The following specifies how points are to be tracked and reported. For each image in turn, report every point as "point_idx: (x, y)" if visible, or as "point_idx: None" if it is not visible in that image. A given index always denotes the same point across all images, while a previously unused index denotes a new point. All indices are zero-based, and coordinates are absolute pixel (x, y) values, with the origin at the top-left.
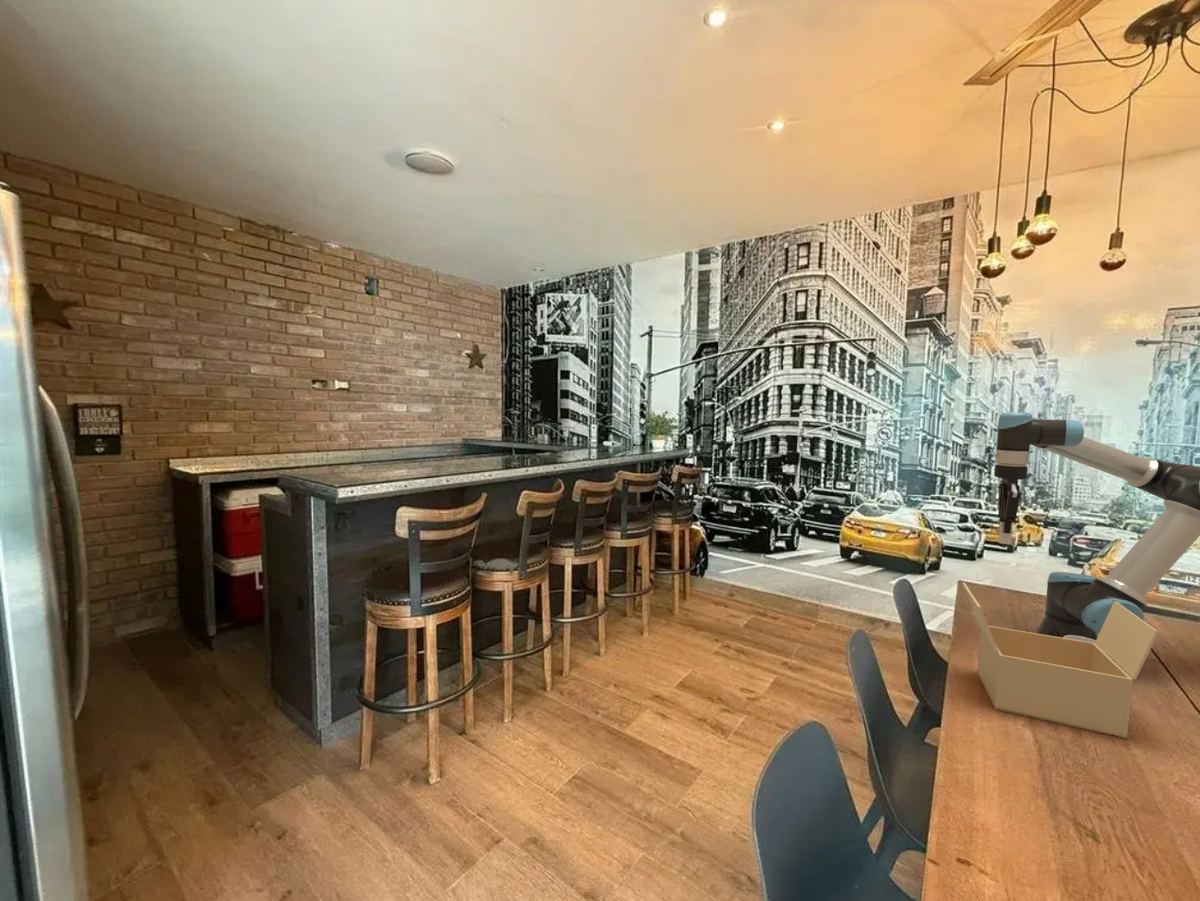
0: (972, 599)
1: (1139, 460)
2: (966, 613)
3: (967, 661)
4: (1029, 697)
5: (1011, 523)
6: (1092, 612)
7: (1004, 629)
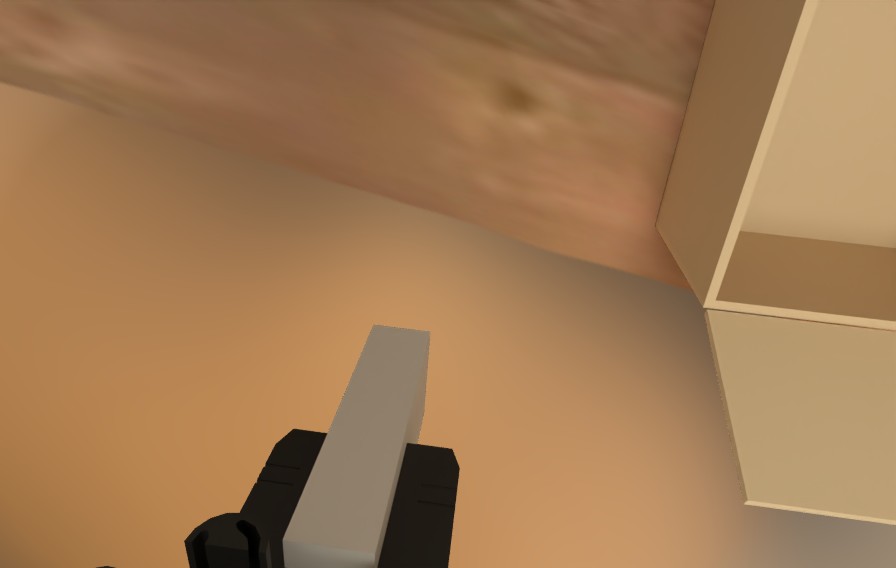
0: None
1: None
2: (85, 96)
3: (578, 229)
4: None
5: (376, 553)
6: None
7: (738, 232)
